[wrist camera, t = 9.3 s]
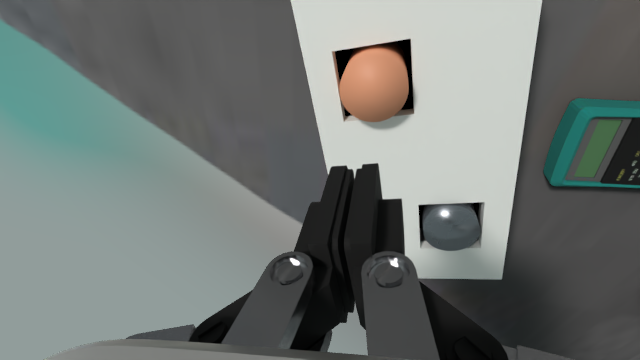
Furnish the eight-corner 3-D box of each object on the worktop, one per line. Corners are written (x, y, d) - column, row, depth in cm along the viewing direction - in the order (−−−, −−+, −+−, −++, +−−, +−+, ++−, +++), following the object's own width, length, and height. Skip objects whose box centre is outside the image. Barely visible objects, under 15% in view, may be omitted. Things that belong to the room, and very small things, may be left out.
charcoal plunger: (468, 172, 30) (482, 210, 26) (466, 209, 33) (478, 250, 28) (418, 175, 31) (422, 212, 27) (420, 211, 34) (424, 251, 29)
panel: (516, -65, 21) (552, -70, 17) (486, 234, 35) (501, 279, 30) (308, -19, 25) (288, -12, 20) (355, 236, 39) (350, 277, 34)
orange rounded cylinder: (404, 31, 24) (406, 49, 20) (407, 90, 26) (410, 118, 22) (344, 41, 25) (334, 60, 21) (352, 97, 28) (344, 125, 23)
